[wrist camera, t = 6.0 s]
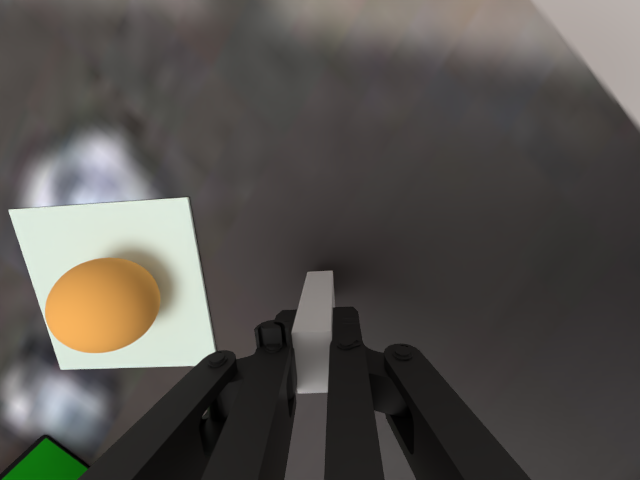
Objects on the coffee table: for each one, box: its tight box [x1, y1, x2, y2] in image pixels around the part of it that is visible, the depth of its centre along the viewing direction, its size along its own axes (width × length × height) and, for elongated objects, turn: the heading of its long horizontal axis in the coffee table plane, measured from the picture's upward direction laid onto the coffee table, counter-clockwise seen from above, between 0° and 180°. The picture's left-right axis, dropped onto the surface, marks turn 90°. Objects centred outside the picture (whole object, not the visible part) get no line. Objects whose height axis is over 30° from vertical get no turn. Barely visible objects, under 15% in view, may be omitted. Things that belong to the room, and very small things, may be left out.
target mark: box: [9, 197, 216, 370], centre depth 20 cm, size 12×12×1 cm
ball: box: [45, 258, 160, 353], centre depth 18 cm, size 6×6×6 cm
